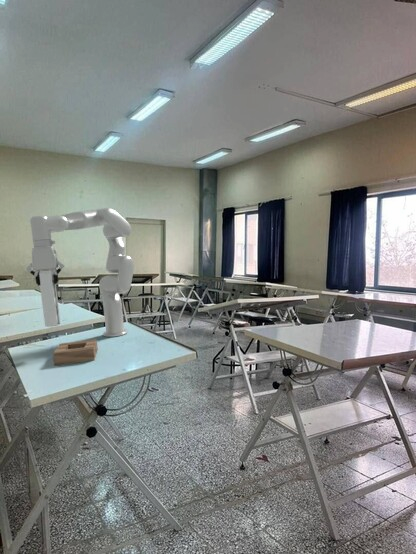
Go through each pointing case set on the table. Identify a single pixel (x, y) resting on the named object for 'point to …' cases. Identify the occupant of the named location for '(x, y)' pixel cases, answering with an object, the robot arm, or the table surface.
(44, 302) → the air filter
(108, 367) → the table surface
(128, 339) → the table surface
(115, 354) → the table surface
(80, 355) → the socket block
